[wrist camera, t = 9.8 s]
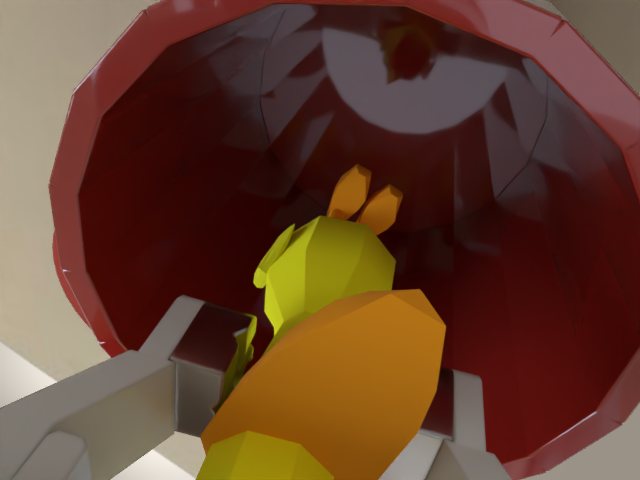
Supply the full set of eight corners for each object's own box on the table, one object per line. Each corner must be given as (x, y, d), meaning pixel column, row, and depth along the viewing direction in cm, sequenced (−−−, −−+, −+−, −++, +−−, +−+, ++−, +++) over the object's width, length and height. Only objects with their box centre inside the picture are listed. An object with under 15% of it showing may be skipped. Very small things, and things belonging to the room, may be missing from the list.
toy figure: (377, 63, 13) (155, 531, 3) (494, 138, 14) (613, 761, 4) (264, 247, 17) (0, 729, 7) (359, 302, 17) (237, 834, 7)
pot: (239, 202, 28) (80, 417, 16) (265, -108, 20) (2, -128, 8) (497, 267, 26) (528, 552, 15) (628, -37, 19) (905, 55, 7)
